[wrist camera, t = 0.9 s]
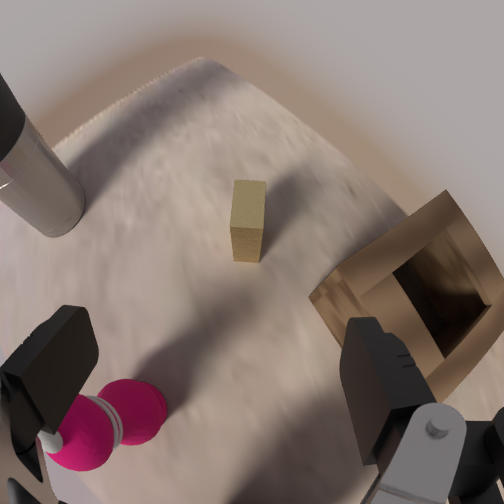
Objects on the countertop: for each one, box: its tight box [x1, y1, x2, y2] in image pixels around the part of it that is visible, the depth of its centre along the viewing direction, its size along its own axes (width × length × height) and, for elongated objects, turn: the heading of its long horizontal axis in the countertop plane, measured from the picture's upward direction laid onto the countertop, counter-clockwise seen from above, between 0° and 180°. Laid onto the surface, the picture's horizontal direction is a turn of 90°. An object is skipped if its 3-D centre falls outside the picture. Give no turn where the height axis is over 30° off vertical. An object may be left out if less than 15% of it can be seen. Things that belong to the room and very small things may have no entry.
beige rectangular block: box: [230, 180, 266, 263], centre depth 34 cm, size 5×3×10 cm, turn 176°
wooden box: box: [308, 190, 504, 403], centre depth 29 cm, size 15×15×13 cm
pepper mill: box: [37, 379, 167, 471], centre depth 22 cm, size 7×7×20 cm
